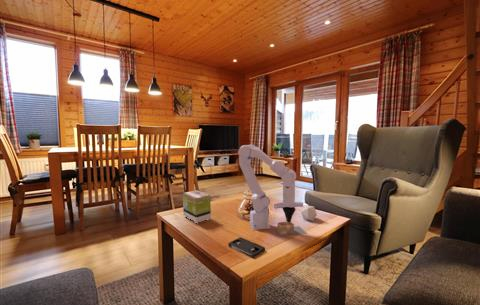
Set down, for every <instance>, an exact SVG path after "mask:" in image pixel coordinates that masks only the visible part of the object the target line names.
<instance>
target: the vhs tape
mask: <svg viewBox="0 0 480 305" xmlns="http://www.w3.org/2000/svg"><path fill="white" fill-rule="evenodd" d="M227 244H228V246H229V248H230V249H232V248H233V250H235V251H237V252H238V253H241V254H243V255H245V256H247V257H249V258H251V259H254V258H256V257H257V256H259V255H261V254H262V253H264V252H265V251H266V247H265V246H262V245H260V244H258V243H256V242H254V241H253V242H252V241H251V240H248V239H246V238H243V237H241V236H240V237H237V238H235V239H233V240H232V241H229V242H228V243H227Z"/></svg>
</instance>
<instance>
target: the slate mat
mask: <svg viewBox="0 0 480 305" xmlns="http://www.w3.org/2000/svg"><path fill="white" fill-rule="evenodd" d="M277 228H278V227H277ZM277 228H273V230H274V231H275V233H277V235H279V237H281V238H282V237H290V236H298V235H307V234H308V232H306V231H305V230H304V229H303V228H302V227H301V226H294V233H286V234H280V233H279V232H278V231H277Z"/></svg>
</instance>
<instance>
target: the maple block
mask: <svg viewBox="0 0 480 305" xmlns="http://www.w3.org/2000/svg"><path fill="white" fill-rule="evenodd" d="M294 227H295V224H294V223H292V221H291V222H287V221H281V222H277V231H278V232H279V233H280V234H286V233H294Z"/></svg>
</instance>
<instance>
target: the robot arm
mask: <svg viewBox="0 0 480 305" xmlns="http://www.w3.org/2000/svg"><path fill="white" fill-rule="evenodd" d="M237 154H238V164H239V167H240V169H241V171H242V174H243V176H244V178H245V181H246V184H247V186H248V188H249V191H250V192H251V202H252V208H253V210H250V212H249V225H250V228H252V230H253V231H256V230H265V229H267V230H268V229H272V227H271V226H270V225H269V206H270V205H271V199H270V198H269V197H268V196H267V194H266V193H265V191H263V190H262V188H261V185H260V184H259V181H258V178H257V177H256V174H255V171H254V170H253V167H252V165H251V161H252V159H254V158H256V159H259V160H260V161H262V162H263V163H264V164H266V165H268V166H269V168H270V171H272V172H273V173H274V174H276V175H277V176H278V177H280V178H281V181H282V183H283V184H282V202H279V203H274V204H273V206H274V207H273V208H274V209H275V210H278V209H282V211H283V213H284V216H285V219H286V220H285V222H292V218H293V215H294V213H295V211H296V208H297V207H302V208H304V202H302V201H296V196H295V195H296V181H295V180H296V179H297V173H296V171H295V170H294V169H290V167H289V166H286V165H285V164H283V162H282V161H280V160H274V159H273V158H271V157H270V156H268V154H266V153H265V152H264V151H263V150H262V149H260V148H259V147H258V146H256V145H255V144H244V145H241V146H240V147H239V149H238V151H237Z"/></svg>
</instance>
